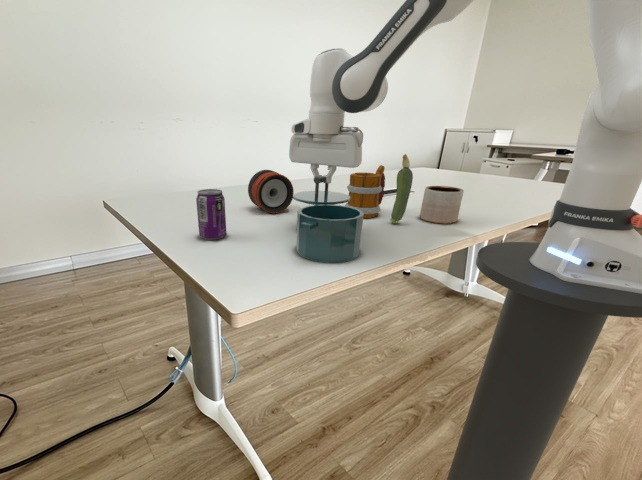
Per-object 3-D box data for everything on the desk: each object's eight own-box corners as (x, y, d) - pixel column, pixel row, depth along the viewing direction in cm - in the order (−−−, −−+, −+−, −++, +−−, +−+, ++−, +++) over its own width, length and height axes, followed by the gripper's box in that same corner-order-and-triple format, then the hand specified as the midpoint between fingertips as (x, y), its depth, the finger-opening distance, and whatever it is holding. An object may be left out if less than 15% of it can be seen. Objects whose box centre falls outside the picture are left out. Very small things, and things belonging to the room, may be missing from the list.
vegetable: (400, 221, 106) (411, 152, 97) (408, 225, 102) (420, 154, 93) (387, 222, 105) (397, 153, 96) (394, 226, 101) (405, 154, 93)
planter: (439, 214, 114) (445, 184, 110) (465, 222, 105) (472, 190, 101) (411, 216, 111) (417, 186, 107) (435, 225, 102) (442, 193, 98)
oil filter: (257, 215, 112) (256, 174, 106) (246, 207, 122) (245, 169, 117) (293, 212, 116) (294, 172, 110) (279, 204, 126) (280, 167, 121)
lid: (360, 199, 95) (362, 175, 93) (331, 209, 84) (333, 182, 82) (312, 192, 104) (313, 170, 101) (281, 201, 93) (281, 176, 90)
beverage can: (229, 239, 89) (226, 192, 84) (201, 242, 87) (197, 194, 82) (223, 232, 95) (221, 188, 90) (197, 234, 93) (193, 189, 88)
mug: (337, 214, 114) (341, 166, 108) (367, 206, 124) (372, 163, 117) (364, 220, 106) (370, 170, 100) (393, 212, 116) (400, 166, 110)
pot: (374, 246, 84) (379, 208, 80) (333, 272, 70) (336, 227, 66) (323, 235, 93) (325, 200, 89) (277, 255, 79) (277, 215, 75)
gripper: (369, 127, 83) (363, 185, 89) (300, 125, 94) (298, 177, 100) (357, 127, 78) (351, 188, 84) (286, 125, 90) (285, 180, 96)
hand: (322, 182), depth 92 cm, fingers closed on lid
